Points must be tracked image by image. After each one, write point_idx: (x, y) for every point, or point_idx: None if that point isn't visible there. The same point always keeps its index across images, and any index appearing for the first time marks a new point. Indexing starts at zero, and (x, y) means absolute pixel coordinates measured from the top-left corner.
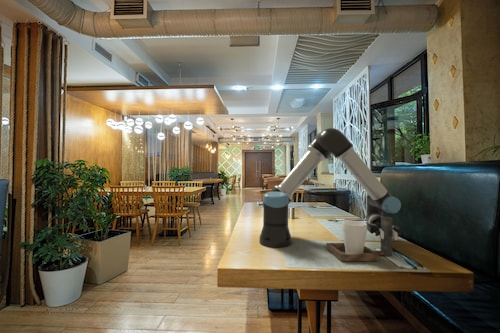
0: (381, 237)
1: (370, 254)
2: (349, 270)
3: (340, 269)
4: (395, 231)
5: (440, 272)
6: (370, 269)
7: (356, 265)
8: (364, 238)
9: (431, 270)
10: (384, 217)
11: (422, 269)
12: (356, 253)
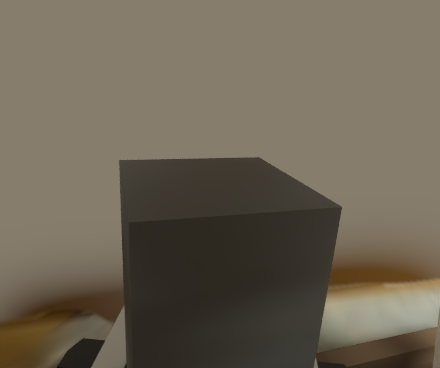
0: None
1: (351, 347)
2: (402, 285)
3: (435, 287)
4: (122, 309)
5: (24, 320)
6: (331, 302)
7: (397, 326)
8: (438, 327)
9: (48, 333)
10: (265, 171)
11: (88, 336)
12: (433, 342)
